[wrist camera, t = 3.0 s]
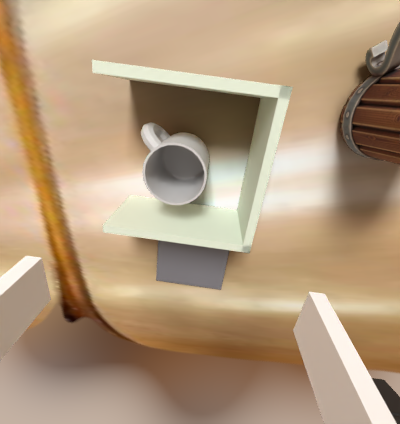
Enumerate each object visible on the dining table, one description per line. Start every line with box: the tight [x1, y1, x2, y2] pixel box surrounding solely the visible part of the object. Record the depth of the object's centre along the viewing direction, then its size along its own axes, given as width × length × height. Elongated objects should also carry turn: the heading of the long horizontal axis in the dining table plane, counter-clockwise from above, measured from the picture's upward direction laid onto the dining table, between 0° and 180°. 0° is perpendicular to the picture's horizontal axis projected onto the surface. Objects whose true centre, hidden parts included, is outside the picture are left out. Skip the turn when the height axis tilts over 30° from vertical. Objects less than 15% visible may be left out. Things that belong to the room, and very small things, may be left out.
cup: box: [141, 122, 209, 205], centre depth 30 cm, size 7×10×9 cm
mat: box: [156, 240, 229, 290], centre depth 41 cm, size 14×12×1 cm
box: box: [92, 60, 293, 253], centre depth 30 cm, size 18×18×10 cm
